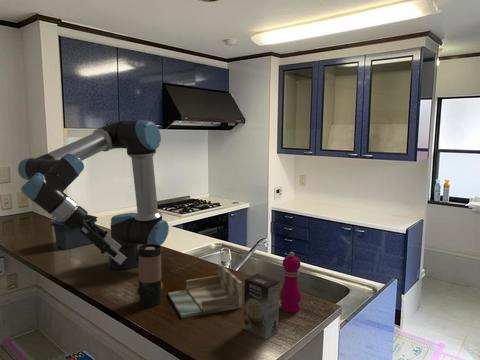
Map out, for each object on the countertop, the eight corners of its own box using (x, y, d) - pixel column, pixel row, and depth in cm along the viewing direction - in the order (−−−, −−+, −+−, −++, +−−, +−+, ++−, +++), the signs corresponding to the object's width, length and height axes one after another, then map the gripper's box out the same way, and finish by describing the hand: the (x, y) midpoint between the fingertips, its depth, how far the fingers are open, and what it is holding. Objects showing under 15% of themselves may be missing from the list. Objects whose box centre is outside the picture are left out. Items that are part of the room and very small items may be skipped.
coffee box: (242, 329, 113) (243, 278, 111) (255, 321, 118) (256, 272, 116) (266, 340, 107) (267, 286, 105) (279, 331, 112) (280, 280, 110)
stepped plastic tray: (167, 294, 137) (167, 271, 136) (220, 286, 145) (220, 263, 144) (182, 319, 119) (182, 292, 118) (241, 307, 127) (242, 282, 126)
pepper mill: (275, 308, 127) (276, 251, 125) (288, 301, 132) (289, 247, 130) (292, 315, 122) (293, 256, 120) (305, 308, 127) (307, 252, 125)
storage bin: (61, 252, 184) (60, 224, 183) (47, 246, 194) (45, 219, 192) (100, 243, 201) (100, 217, 199) (85, 238, 210) (84, 213, 209)
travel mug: (166, 300, 132) (165, 246, 129) (150, 309, 125) (149, 251, 123) (150, 296, 135) (149, 242, 133) (134, 303, 129) (133, 248, 127)
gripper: (62, 214, 127) (109, 252, 134) (59, 232, 104) (116, 276, 112) (78, 198, 128) (124, 237, 136) (79, 212, 106) (134, 257, 113)
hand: (121, 254), depth 124 cm, fingers open, 13 cm apart
